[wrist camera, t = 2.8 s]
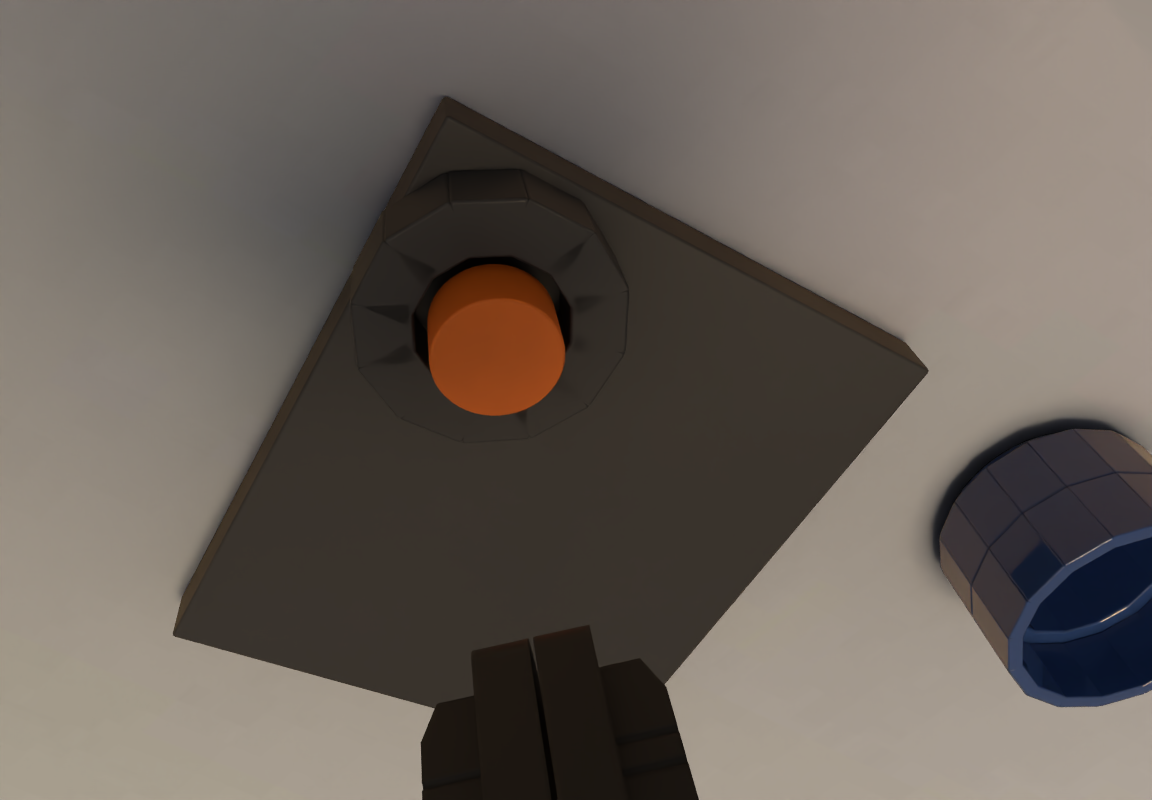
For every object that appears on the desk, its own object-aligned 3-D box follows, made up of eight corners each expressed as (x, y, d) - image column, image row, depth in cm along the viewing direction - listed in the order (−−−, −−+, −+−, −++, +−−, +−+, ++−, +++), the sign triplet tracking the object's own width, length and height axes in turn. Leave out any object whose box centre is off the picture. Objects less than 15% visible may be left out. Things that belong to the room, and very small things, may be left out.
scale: (432, 87, 21) (437, 135, 18) (906, 342, 26) (961, 407, 23) (171, 594, 27) (148, 683, 24) (597, 719, 32) (614, 802, 29)
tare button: (464, 241, 20) (469, 276, 18) (578, 295, 21) (591, 332, 19) (404, 346, 21) (405, 386, 19) (516, 393, 22) (524, 435, 20)
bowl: (1040, 384, 27) (1143, 488, 23) (1188, 466, 30) (1303, 572, 26) (887, 552, 30) (957, 670, 26) (1035, 615, 32) (1119, 730, 28)
